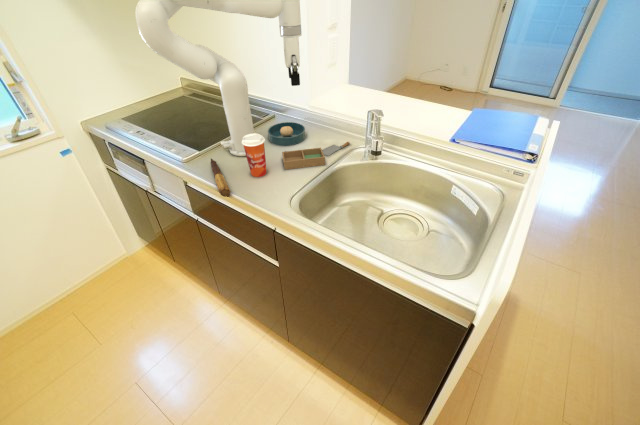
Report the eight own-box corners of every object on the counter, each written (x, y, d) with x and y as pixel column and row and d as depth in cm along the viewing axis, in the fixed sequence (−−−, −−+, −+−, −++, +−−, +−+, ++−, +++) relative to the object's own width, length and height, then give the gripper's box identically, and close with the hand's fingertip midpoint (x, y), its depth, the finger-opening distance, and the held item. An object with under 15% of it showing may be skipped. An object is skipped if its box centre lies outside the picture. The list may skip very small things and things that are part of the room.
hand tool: (232, 191, 103) (228, 199, 104) (216, 157, 122) (212, 164, 122) (223, 187, 101) (218, 195, 101) (208, 154, 119) (204, 160, 120)
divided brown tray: (284, 169, 116) (283, 161, 114) (283, 159, 122) (282, 151, 120) (325, 165, 118) (324, 157, 116) (321, 155, 124) (320, 147, 122)
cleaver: (318, 153, 126) (327, 157, 123) (318, 150, 125) (327, 154, 122) (341, 141, 133) (350, 144, 130) (341, 138, 132) (350, 141, 129)
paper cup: (249, 180, 111) (242, 144, 102) (247, 169, 117) (240, 134, 108) (271, 176, 113) (266, 140, 104) (268, 166, 118) (262, 131, 110)
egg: (281, 138, 135) (279, 129, 132) (280, 134, 138) (279, 125, 135) (294, 137, 135) (293, 128, 133) (292, 133, 139) (292, 124, 136)
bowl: (269, 147, 130) (268, 139, 128) (267, 131, 142) (266, 124, 140) (308, 143, 132) (307, 135, 130) (302, 127, 144) (302, 120, 142)
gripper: (278, 27, 117) (283, 75, 128) (281, 36, 103) (286, 89, 114) (298, 26, 118) (301, 74, 128) (304, 34, 104) (307, 87, 115)
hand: (294, 81), depth 121 cm, fingers open, 9 cm apart
